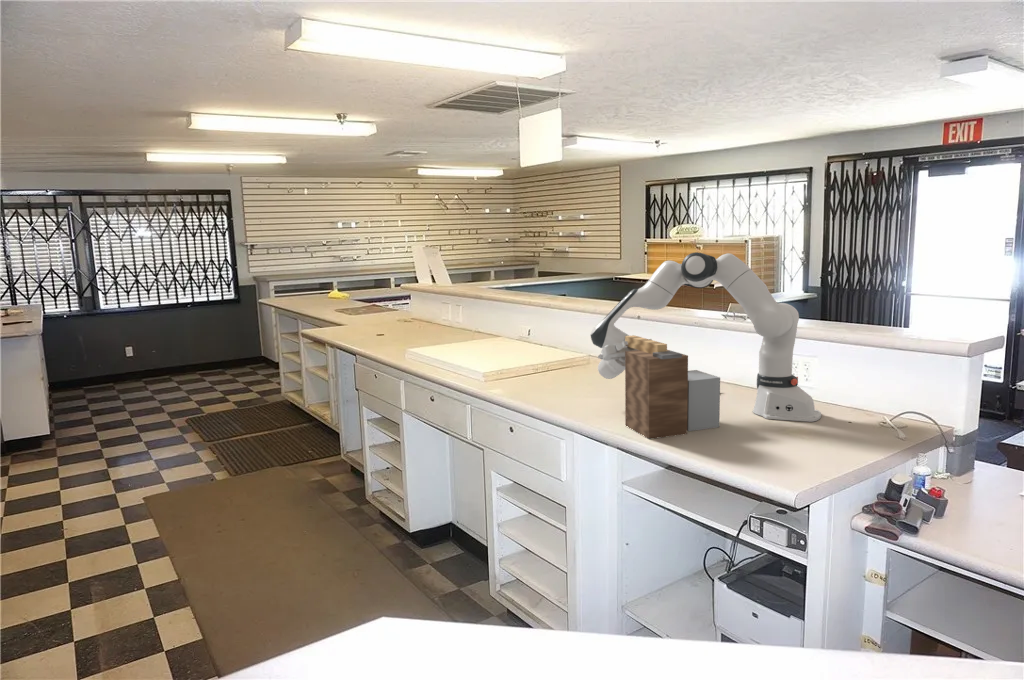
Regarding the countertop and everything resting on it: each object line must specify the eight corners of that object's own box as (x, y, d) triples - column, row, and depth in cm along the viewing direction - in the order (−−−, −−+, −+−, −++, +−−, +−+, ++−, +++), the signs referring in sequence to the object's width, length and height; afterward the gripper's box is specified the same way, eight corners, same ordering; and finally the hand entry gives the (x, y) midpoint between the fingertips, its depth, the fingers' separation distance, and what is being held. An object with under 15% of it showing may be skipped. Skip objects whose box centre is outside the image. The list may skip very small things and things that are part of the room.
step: (665, 420, 232) (666, 373, 229) (695, 416, 235) (696, 369, 233) (688, 431, 219) (688, 380, 216) (719, 427, 222) (720, 377, 220)
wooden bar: (620, 346, 233) (620, 336, 232) (638, 344, 235) (638, 334, 234) (662, 359, 207) (662, 348, 206) (681, 357, 209) (682, 346, 208)
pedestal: (625, 426, 226) (625, 351, 222) (661, 421, 231) (661, 348, 227) (649, 439, 211) (649, 359, 207) (687, 433, 216) (688, 355, 212)
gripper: (594, 350, 238) (608, 336, 226) (644, 346, 244) (661, 331, 232) (598, 367, 236) (613, 353, 224) (649, 362, 242) (666, 348, 230)
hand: (638, 342), depth 228 cm, fingers open, 8 cm apart
